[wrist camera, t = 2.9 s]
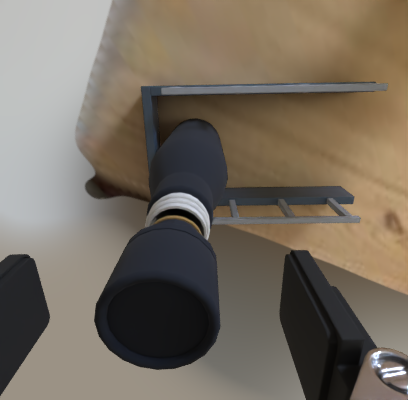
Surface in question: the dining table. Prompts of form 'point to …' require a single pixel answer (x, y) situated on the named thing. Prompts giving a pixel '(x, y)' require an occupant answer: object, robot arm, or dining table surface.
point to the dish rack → (261, 194)
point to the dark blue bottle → (170, 259)
